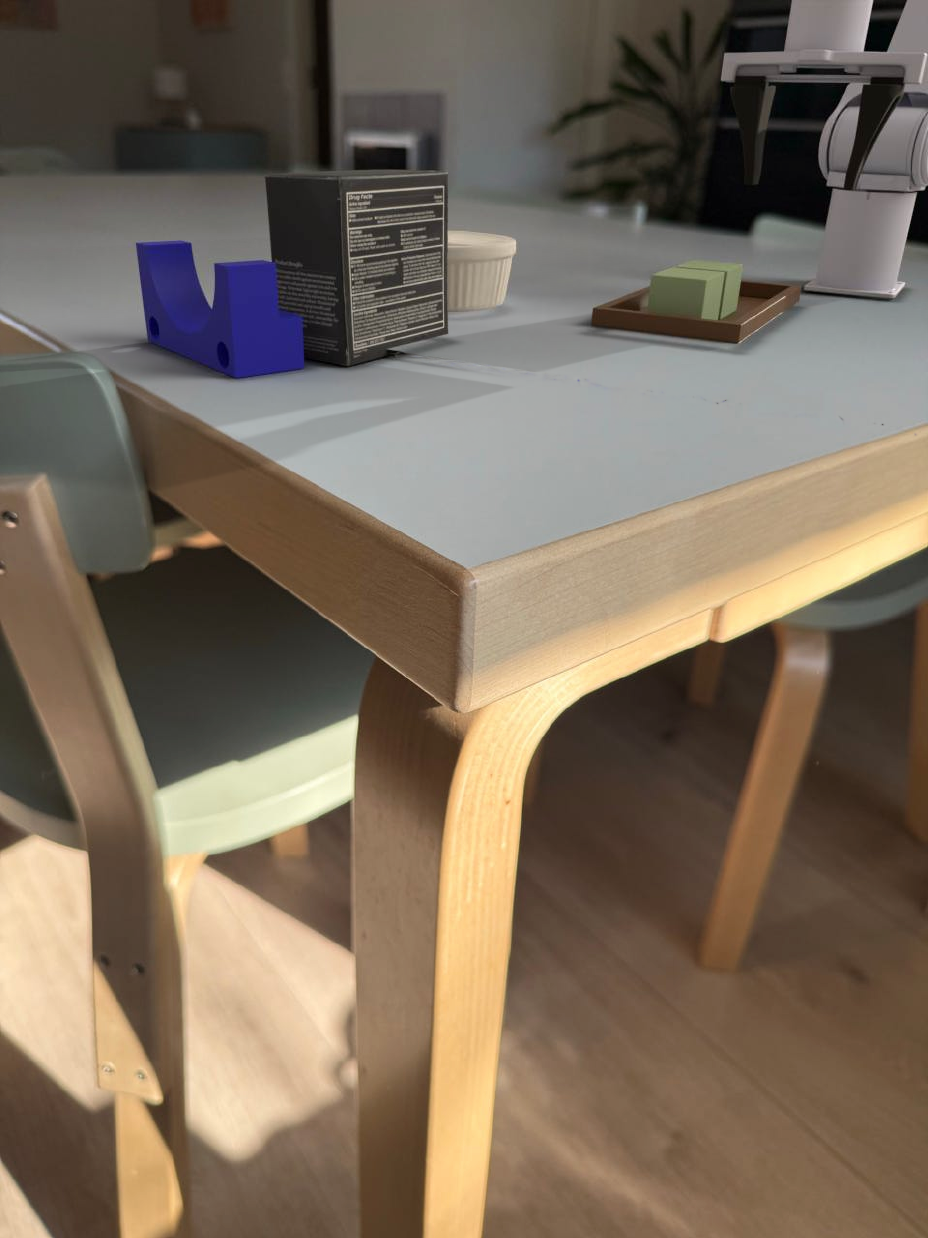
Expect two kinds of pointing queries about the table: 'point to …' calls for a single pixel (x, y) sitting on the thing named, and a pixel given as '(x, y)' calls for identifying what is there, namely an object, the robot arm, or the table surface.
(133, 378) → the table surface
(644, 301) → the tray
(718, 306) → the green rectangular block
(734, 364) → the table surface
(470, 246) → the ramekin
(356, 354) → the small box
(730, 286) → the olive green block
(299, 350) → the cable clip
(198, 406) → the table surface
